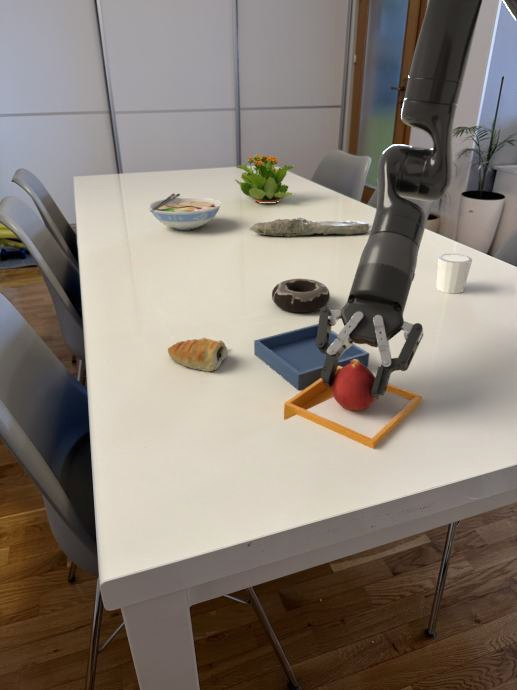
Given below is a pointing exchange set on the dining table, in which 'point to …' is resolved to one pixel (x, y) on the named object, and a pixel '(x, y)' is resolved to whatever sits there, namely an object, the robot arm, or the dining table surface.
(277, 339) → the blue tray
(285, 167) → the potted flower
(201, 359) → the pastry
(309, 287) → the donut
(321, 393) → the amber tray
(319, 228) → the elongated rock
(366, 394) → the onion
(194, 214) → the ramen bowl
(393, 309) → the robot arm
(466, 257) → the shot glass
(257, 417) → the dining table surface
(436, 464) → the dining table surface
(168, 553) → the dining table surface
